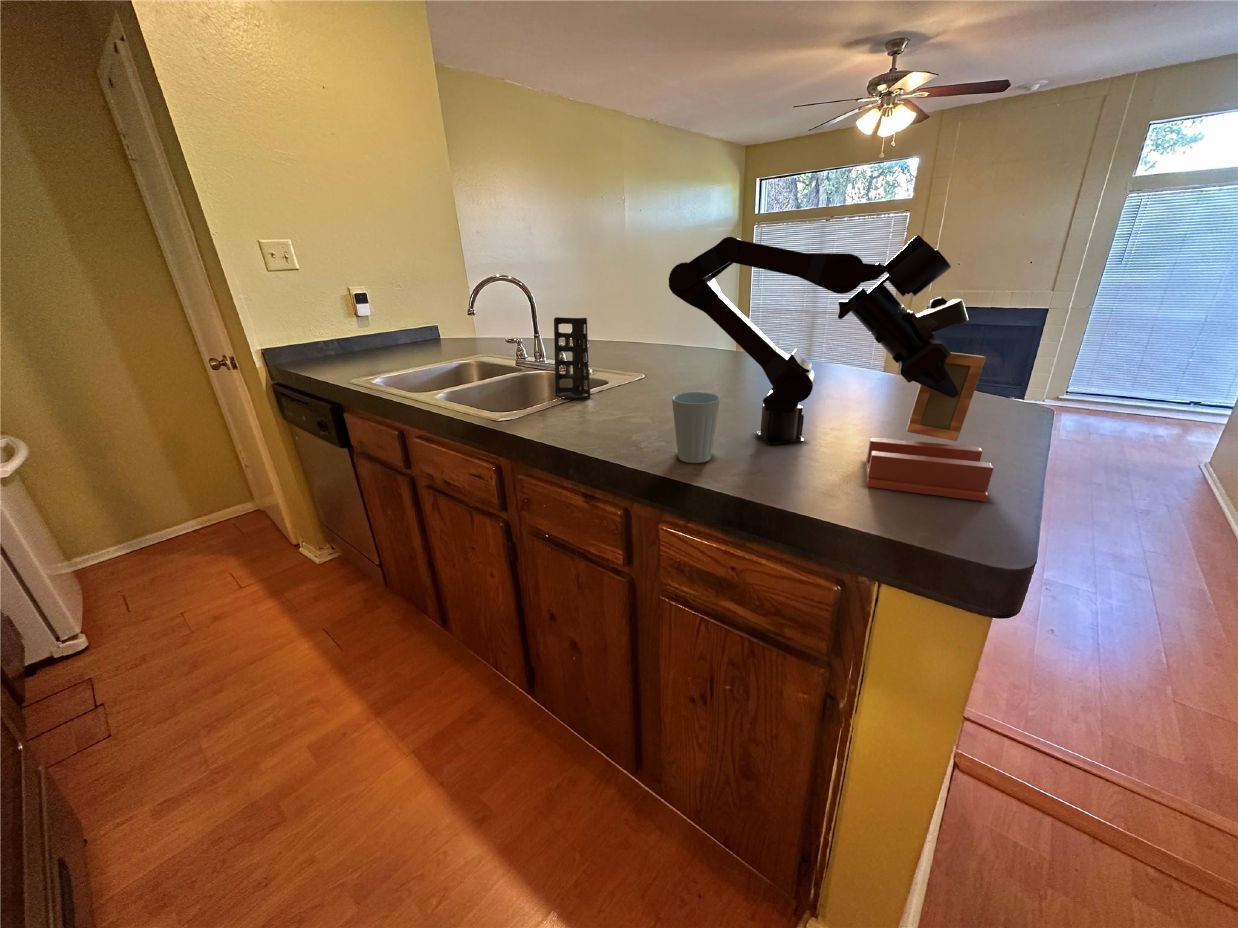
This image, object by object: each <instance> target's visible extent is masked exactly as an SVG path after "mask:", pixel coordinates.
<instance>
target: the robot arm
mask: <svg viewBox="0 0 1238 928" xmlns="http://www.w3.org/2000/svg"><path fill="white" fill-rule="evenodd" d="M734 264H738V265H741V266H747V267H751V268H754V269H755V268H756V269H761V270H765V271H769V272H774V273H779V274H783V275H788V276H793V277H798V278H800V279H802V280H804V281H806V282H809V283H811V284H813V285H815V286H818V287H820V288H822V289H825V290H827V291H830V292H831V293H834V294H837V295H838V294H839V295H845V294H848V293H851V292H853V291H854V290H856V289H857V288H858V287H859V286H860V285H861V284H863V283H866V282H868V283H869V282H872V281H876V280H878V279H879V278H880V277H882V276H883V275H884V274H885V273H886V274H887V275H886V276H884V277H883V278H882V279H881V280H879V281H878V282H877V283H876V284H874V286H872V287H871V288H870V289H869V290H868V291H867V290H866V289H865V288H864V287H861V288H860V289H859V290H858V291H857V292H855V293H854V294H853V295H852V296H850V298H848V299H847V300H839V301H838V308H839V309H838V310H839V311H838V315H837V318H838V320H843V319H844V318H845V317H846V316H847V315H849V314H850V313H851V314H852V315H853V316H854V317H855V318H856V319H857V320H858V321H859V322H860V324H861V325H862V326H863V327H864V328H865V329H866V330H867V331H868V332H869V333H870V334H871V336H873V338H874V340H875V341H876V342H877V343H878V344H880V346H882V347H883V349H884V350H885V351H886V352H887V353H888V354H889V355H890V356H891V358H892V360H893V361H894V362H895V363H896V364H898V373H900V376H901V377H902V378H904V380H906V382H907V383H908V384H909V383H912V382H915V383H916V384H919V385H920V384H921V385H924V386H926V387H928V388H931V389H933V390H935V391H938V392H940V393H942V394H944V395H947V396H949V397H951V398H954V397H956V396H957V395H959V391H958V390H957V388H956V386H955V384H954V382H953V381H952V379H951V377H950V375H949V373H948V371H947V370H946V368H945V361H946V358H947V357H948V356H949V355H950V354H951V351H950V350H949V349H948V348H947V347H946V346H945V345H944V343H942V342H941V341H940V340H939V339H936V338H935V336H936V335H935V334H934V333H935V332H939V331H941V330H944V329H946V328H949V327H951V326H954V325H962V324H964V323H966V322H968V321H969V317H968V312H967V310H966V307H965V303H964V300H963V299H961V298H953V299H950V300H947V299H946V298H944V297H943V296H938V297H936V298H933V299H931V300H929V304H928V309H924V310H923V311H921V312H919V313H916V314H915V313H914V311H912V310H911V309H907V308H906V307H905V305H903V303H902V302H901V301H900V300H899V299H898V298H897V296H895V295H894V293H892V291H890V289H889V288H888V287H887V286H886V285H885V283H887V282H888V283H889V284H890V285H891V287H892V288H893V289H894V290H895V291H896V292H897V293H898V294H899V295H900V296H901V297H902V298H904V297H905V296H906V295H907V296H909V295H910V294H911V295H912V296H913V297H916V296H917V295H919V294H920V293H921V292H922V291H924V290H925V289H927V288H928V287H929V286H930V285H931V284H932V283H933V282H935V281H937V280H938V279H939V278H940V277H942V276H943V275H944V274H945V273H946V272H948V271H949V270H950V269H951V268H952V265H951V264H950V263H949V261H948V260H947V259H946V258H945V256H944V255H943V254H942V253H941V252H940V251H939V250H938V249H937V248H936V249H935V248H934V246H933V247H932V245H930V244H929V243H928V242H927V241H926V240H924V238H923V237H922V236H921V235H919V234H918V235H916V236H914V237H913V238H912V239H911V240H910V241H908V242H907V243H906V245H905V246H904V247H903V248H902V249H901V250H900V251H899V252H897V254H896V255H894V256H893V257H892V258H891V259H890V260H888V261H887V262H886V263H885V264H882V263H880V262H877V263H876V264H875V263H866V262H863V260H862V259H861V258H860V257H859V256H858V255H856V254H854V253H841V252H840V253H835V252H833V253H831V252H829V253H826V252H825V253H823V252H818V253H817V252H813V253H812V252H802V251H797V250H792V249H787V248H782V247H777V246H772V245H767V244H763V243H757V242H752V241H746V240H743V239H740V238H738V237H735V236H726V237H723V239H721V240H720V241H719V242H718V243H716V244H715V245H714V246H712V247H711V248H709V249H707V250H706V251H704V252H702V253H700V254H699V255H698V256H696V257H694V258H693V259H692V260H690V261H688V262H687V261H686V262H685V261H684V262H680V263H677V264H676V265H675V266H674V267H672V269H671V270H670V272H669V276H668V288H669V290H670V291H671V292H672V294H673V295H674V296H676V297H677V298H679V299H680V300H682V301H683V302H685V303H686V304H687V305H690V306H691V307H694V308H695V309H698V310H699V311H701V312H703V313H705V314H706V315H707V316H708V317H709V318H710V319H711V320H712V321H713V322H714V323H715V324H716V325H717V326H718V327H719V328H720V329H721V330H723V331H724V333H725V334H727V335H728V336H729V337H730V338H731V339H732V340H733V341H734V342H735V343H736V344H737V345H738V346H739V347H740V348H741V349H742V350H743V351H744V352H745V353H747V355H749V357H750V358H751V359H753V360H754V361H755V363H757V364H758V365H759V367H761V368H762V370H763V372H764V374H765V376H766V378H767V380H768V382H769V383H770V385H771V386H772V387H771V388H770V389H769V391H768V392H767V394H766V395H765V397H764V398H763V399H762V403H763V404H762V407H761V420H760V431H756V432H755V433H756V436H758V437H759V438H760V439H761V440H763V441H764V442H766V443H767V444H768V445H771V446H774V445H775V446H776V445H788V444H798V443H799V444H800V443H804V442H805V439H804V438H803V437H802V436H803V430H804V421H805V420H804V419H805V414H804V413H803V409H804V408H803V406H802V405H800V404H799V403H802V402H804V401H805V400H807V399H808V398H809V397H810V395H811V394H812V391H813V389H814V386H815V383H816V374H815V371H814V370H813V369H812V367H813V363H812V362H810V361H807V359H805V358H804V357H803V355H802V354H801V353H800V352H799V350H798V349H797V348H795V349H794V350H793V351H792V353H791V354H789V353H788V352H786V351H784V350H782V349H780V348H779V347H778V346H777V345H776V344H775V343H774V342H772V340H771V339H770V338H769V337H768V336H766V335H765V333H763V332H762V331H761V330H760V329H759V328H758V327H757V326H756V325H755V324H754V323H753V322H752V321H750V319H749V318H748V317H747V316H746V315H744V313H742V312H741V311H740V309H739V308H737V307H736V306H735V305H734V304H733V303H732V302H731V301H730V300H729V299H728V298H727V297H726V296H725V295H724V293H723V292H722V290H721V288H720V286H719V284H718V283H717V281H716V279H715V278H717V277H719V275H721V274H722V273H723V272H724V271H726V270H727V269H728V268H729V267H730V266H732V265H734Z"/></svg>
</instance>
